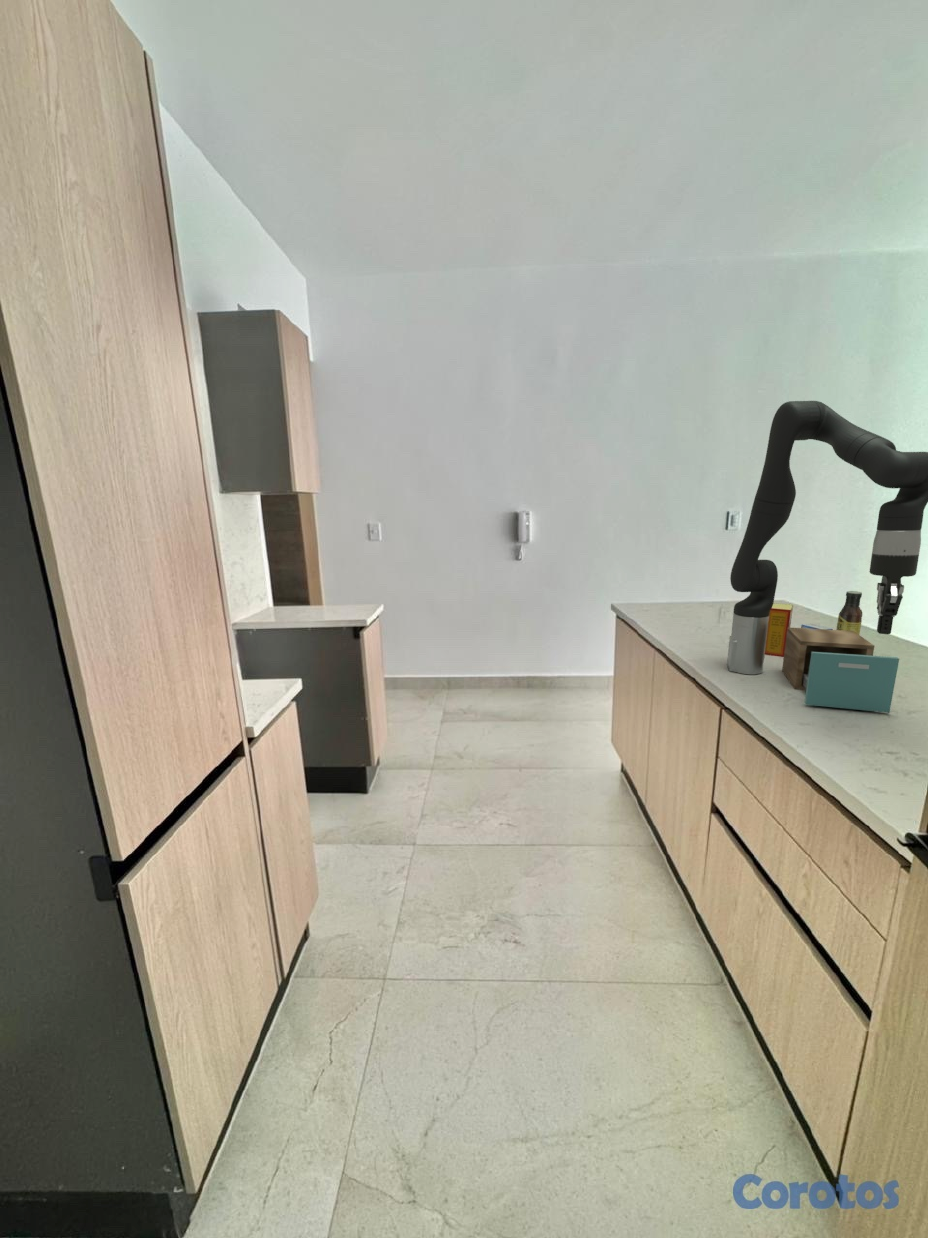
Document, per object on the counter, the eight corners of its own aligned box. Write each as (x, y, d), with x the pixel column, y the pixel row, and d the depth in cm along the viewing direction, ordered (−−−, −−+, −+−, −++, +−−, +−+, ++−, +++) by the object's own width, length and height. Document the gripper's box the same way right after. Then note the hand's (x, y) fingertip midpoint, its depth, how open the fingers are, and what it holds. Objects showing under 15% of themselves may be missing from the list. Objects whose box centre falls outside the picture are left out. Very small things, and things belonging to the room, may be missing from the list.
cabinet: (794, 689, 137) (801, 641, 134) (781, 671, 150) (787, 627, 147) (866, 695, 131) (874, 645, 128) (846, 676, 145) (853, 630, 142)
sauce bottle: (834, 646, 173) (842, 589, 168) (857, 649, 169) (866, 591, 164) (832, 651, 168) (841, 592, 163) (856, 654, 164) (865, 594, 159)
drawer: (805, 704, 125) (813, 653, 122) (790, 683, 139) (797, 637, 136) (889, 712, 119) (899, 659, 116) (865, 690, 133) (873, 641, 130)
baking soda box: (765, 647, 174) (770, 601, 170) (787, 649, 170) (793, 603, 166) (761, 654, 167) (767, 606, 163) (784, 657, 163) (790, 609, 159)
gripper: (926, 555, 97) (912, 642, 101) (912, 550, 108) (900, 628, 112) (876, 554, 101) (865, 638, 105) (868, 549, 112) (858, 625, 116)
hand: (883, 633), depth 108 cm, fingers closed
